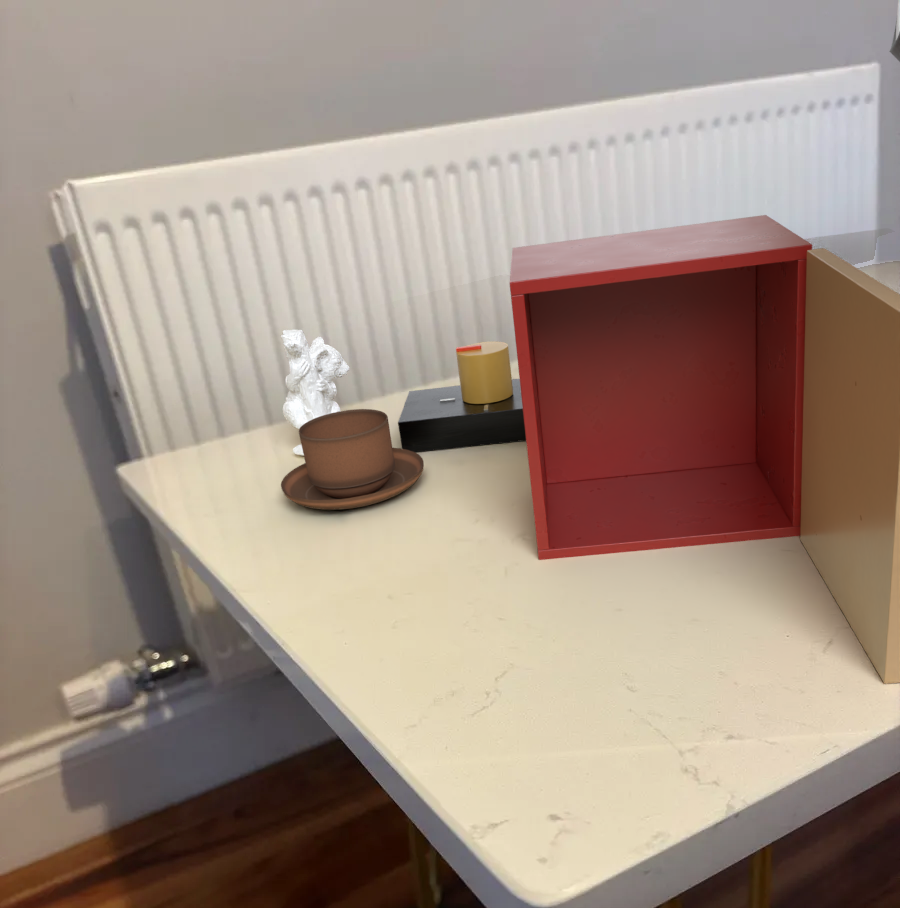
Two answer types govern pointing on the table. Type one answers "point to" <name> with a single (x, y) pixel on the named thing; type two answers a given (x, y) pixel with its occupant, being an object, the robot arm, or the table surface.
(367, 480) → the cup and saucer
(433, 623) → the table surface
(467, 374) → the valve knob
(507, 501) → the table surface
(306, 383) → the white sculpted figure
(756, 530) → the cabinet
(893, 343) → the cabinet door
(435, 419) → the valve panel
